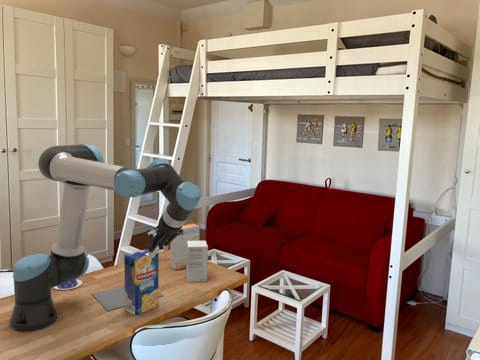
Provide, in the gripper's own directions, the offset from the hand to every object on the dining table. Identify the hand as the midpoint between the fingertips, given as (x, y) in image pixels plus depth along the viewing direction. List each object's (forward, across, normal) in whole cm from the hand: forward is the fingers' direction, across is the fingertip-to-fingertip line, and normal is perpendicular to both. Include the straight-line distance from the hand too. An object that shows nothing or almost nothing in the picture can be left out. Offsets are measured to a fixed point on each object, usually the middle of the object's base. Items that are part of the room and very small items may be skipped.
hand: (150, 254), depth 147 cm
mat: (+35, +2, 0) cm, 35 cm away
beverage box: (+26, +2, -10) cm, 28 cm away
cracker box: (+47, +39, +11) cm, 62 cm away
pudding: (+53, -16, +17) cm, 58 cm away
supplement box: (+36, +36, 0) cm, 51 cm away
